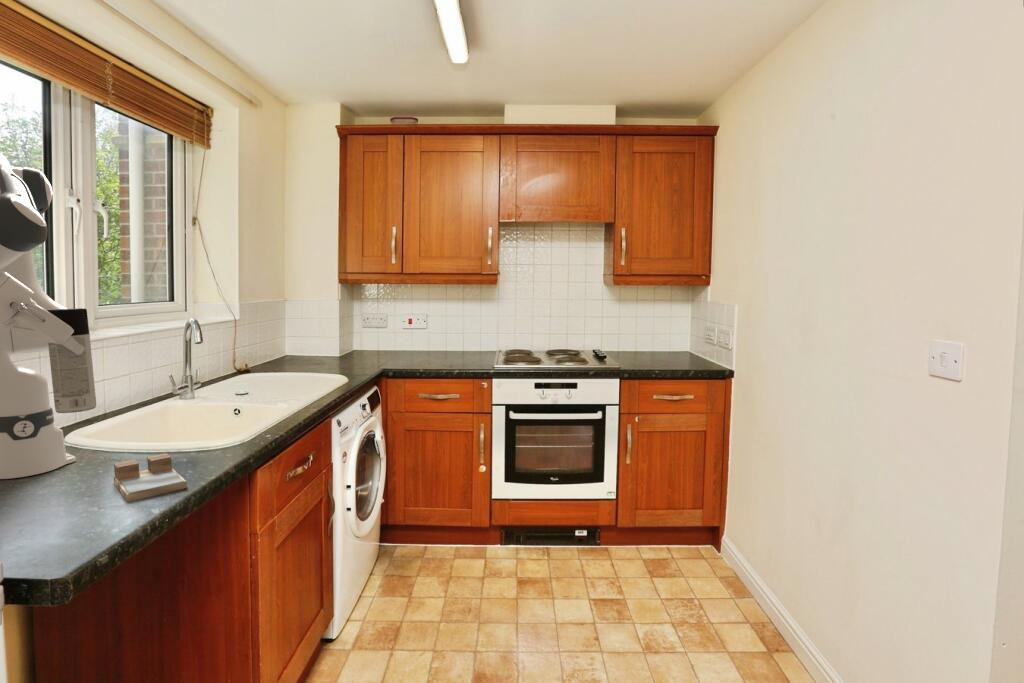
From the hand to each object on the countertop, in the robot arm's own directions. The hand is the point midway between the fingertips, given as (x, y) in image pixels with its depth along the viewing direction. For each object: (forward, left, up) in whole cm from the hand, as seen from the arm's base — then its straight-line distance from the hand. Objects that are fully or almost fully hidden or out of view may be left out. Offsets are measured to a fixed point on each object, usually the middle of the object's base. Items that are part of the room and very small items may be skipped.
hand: (74, 350), depth 116 cm
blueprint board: (-3, +11, -31) cm, 33 cm away
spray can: (0, -1, -12) cm, 12 cm away
